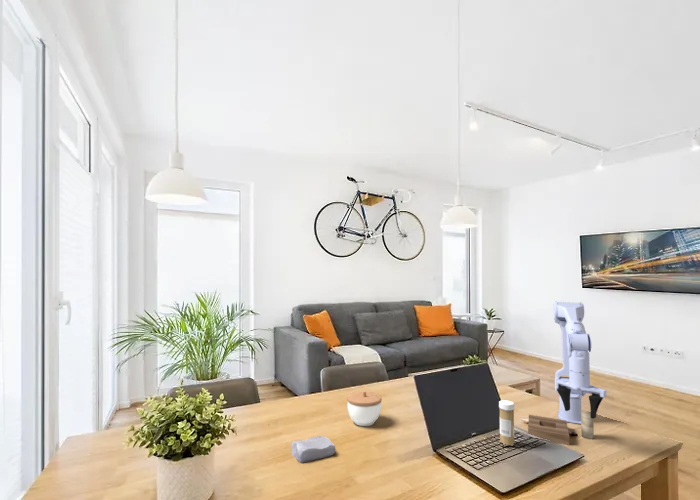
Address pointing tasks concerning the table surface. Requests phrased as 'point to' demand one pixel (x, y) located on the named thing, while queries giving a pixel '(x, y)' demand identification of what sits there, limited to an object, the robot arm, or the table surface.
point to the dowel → (587, 425)
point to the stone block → (312, 448)
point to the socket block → (549, 429)
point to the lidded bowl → (364, 407)
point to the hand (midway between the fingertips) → (580, 413)
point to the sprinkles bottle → (506, 422)
